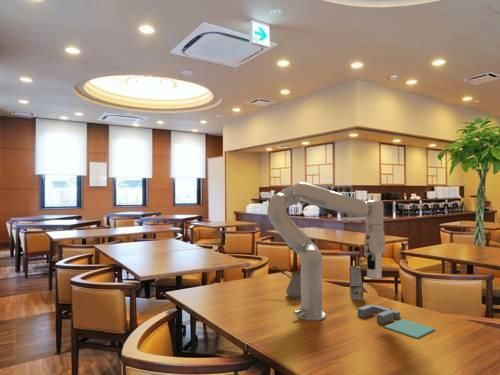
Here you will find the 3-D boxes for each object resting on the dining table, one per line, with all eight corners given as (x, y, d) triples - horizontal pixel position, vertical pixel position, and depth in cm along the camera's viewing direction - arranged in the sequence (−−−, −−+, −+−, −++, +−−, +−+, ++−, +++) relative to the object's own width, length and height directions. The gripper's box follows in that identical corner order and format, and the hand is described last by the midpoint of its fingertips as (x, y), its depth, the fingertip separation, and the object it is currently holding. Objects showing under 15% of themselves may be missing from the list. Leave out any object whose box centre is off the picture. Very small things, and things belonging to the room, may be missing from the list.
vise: (383, 324, 152) (382, 316, 152) (357, 315, 162) (357, 308, 162) (403, 315, 162) (403, 308, 162) (378, 308, 172) (378, 301, 172)
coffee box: (363, 300, 185) (363, 269, 185) (350, 299, 186) (350, 268, 186) (361, 295, 194) (361, 265, 194) (349, 294, 195) (349, 265, 195)
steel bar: (375, 279, 156) (375, 252, 157) (366, 277, 160) (367, 250, 160) (381, 278, 159) (381, 251, 159) (372, 276, 163) (372, 249, 163)
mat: (417, 338, 137) (417, 337, 137) (384, 327, 148) (384, 326, 148) (434, 330, 145) (434, 328, 145) (402, 320, 156) (402, 318, 156)
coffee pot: (311, 296, 193) (310, 268, 193) (301, 301, 183) (301, 272, 184) (277, 289, 205) (277, 263, 205) (266, 294, 196) (266, 267, 196)
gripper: (370, 229, 152) (370, 272, 152) (392, 227, 162) (392, 267, 162) (355, 228, 158) (355, 269, 158) (377, 226, 168) (377, 264, 168)
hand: (374, 268), depth 160 cm, fingers closed on steel bar, 4 cm apart
